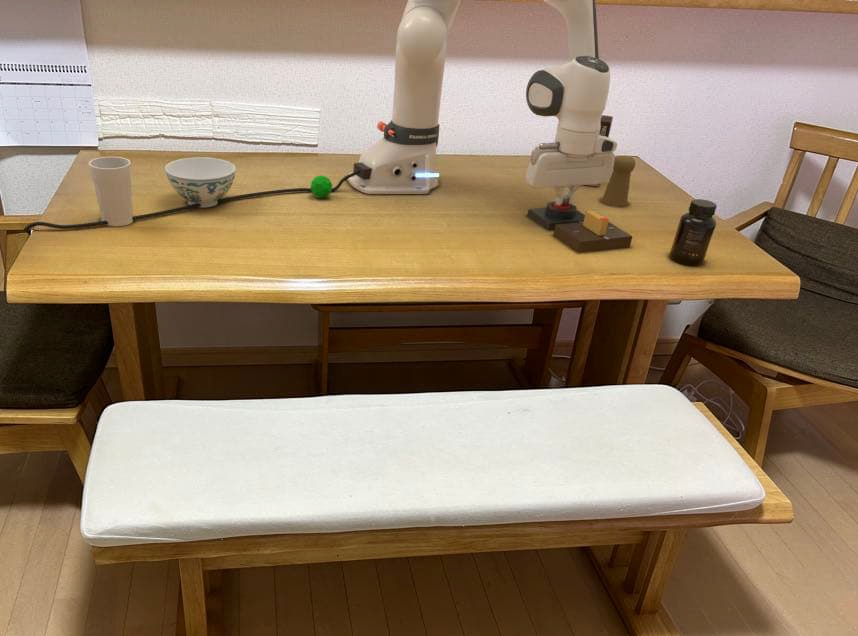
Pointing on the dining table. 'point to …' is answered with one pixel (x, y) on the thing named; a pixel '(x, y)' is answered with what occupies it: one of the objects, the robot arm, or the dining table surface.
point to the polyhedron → (321, 186)
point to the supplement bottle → (694, 233)
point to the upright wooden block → (595, 223)
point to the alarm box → (555, 216)
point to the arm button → (563, 207)
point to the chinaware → (201, 179)
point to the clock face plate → (591, 237)
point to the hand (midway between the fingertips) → (562, 204)
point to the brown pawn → (619, 182)
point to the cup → (113, 189)
